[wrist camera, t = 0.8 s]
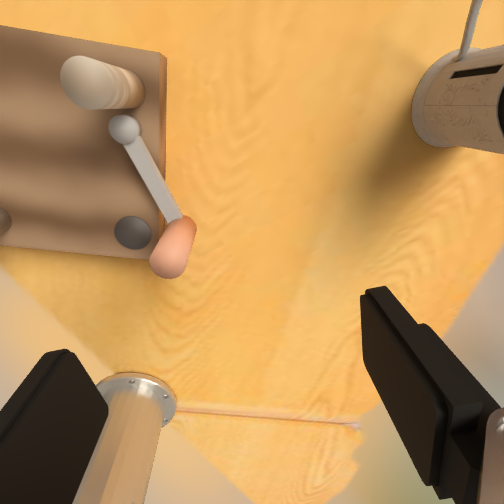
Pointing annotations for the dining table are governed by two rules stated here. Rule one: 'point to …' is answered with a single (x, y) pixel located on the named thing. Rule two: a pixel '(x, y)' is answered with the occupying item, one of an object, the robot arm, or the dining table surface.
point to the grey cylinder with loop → (463, 96)
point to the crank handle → (157, 201)
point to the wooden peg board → (77, 144)
